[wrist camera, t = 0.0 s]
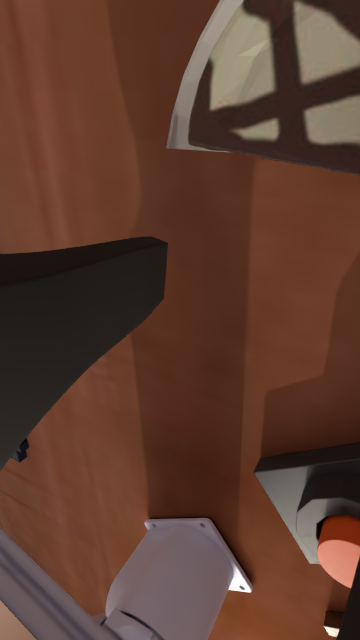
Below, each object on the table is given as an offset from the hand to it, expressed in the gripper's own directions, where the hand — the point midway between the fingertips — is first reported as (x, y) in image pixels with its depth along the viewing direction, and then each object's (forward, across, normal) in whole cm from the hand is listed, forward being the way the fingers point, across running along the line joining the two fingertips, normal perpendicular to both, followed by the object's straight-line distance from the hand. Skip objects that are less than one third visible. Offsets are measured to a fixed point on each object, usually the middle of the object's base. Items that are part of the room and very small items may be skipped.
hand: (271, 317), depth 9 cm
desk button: (+5, -8, +16) cm, 18 cm away
